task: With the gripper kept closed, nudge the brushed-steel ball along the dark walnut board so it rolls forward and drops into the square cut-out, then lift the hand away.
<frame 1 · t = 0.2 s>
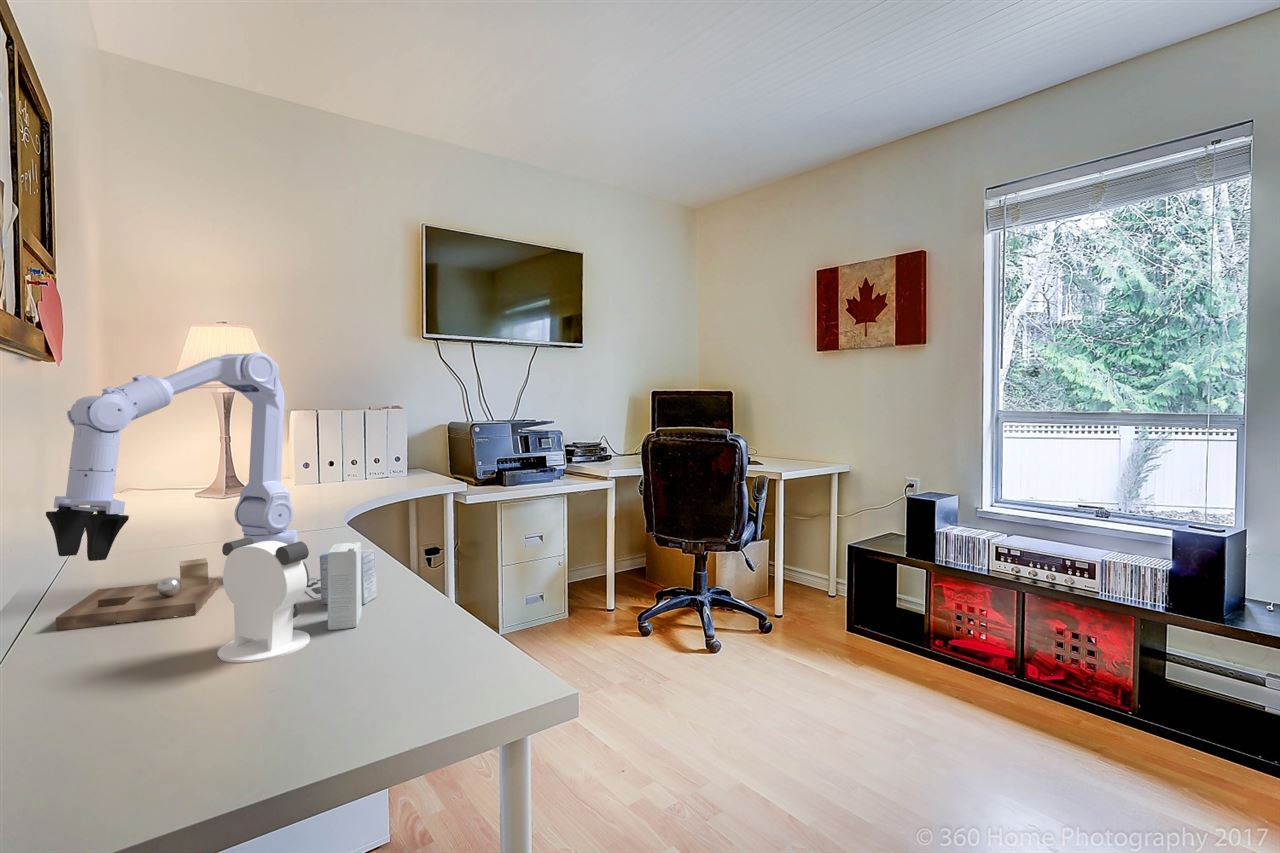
hand: (82, 557, 101), 11 cm above the table, tool pointing down, fingers open, 7 cm apart
panda figurine: (267, 647, 92), on the table
medicine box: (349, 602, 112), on the table
handheld gaming device: (329, 588, 122), on the table
board: (145, 607, 109), on the table
ball: (169, 586, 109), point 4 cm above the table, touching board
cork block: (194, 583, 116), point 2 cm above the table, touching board
skincare box: (346, 624, 101), on the table
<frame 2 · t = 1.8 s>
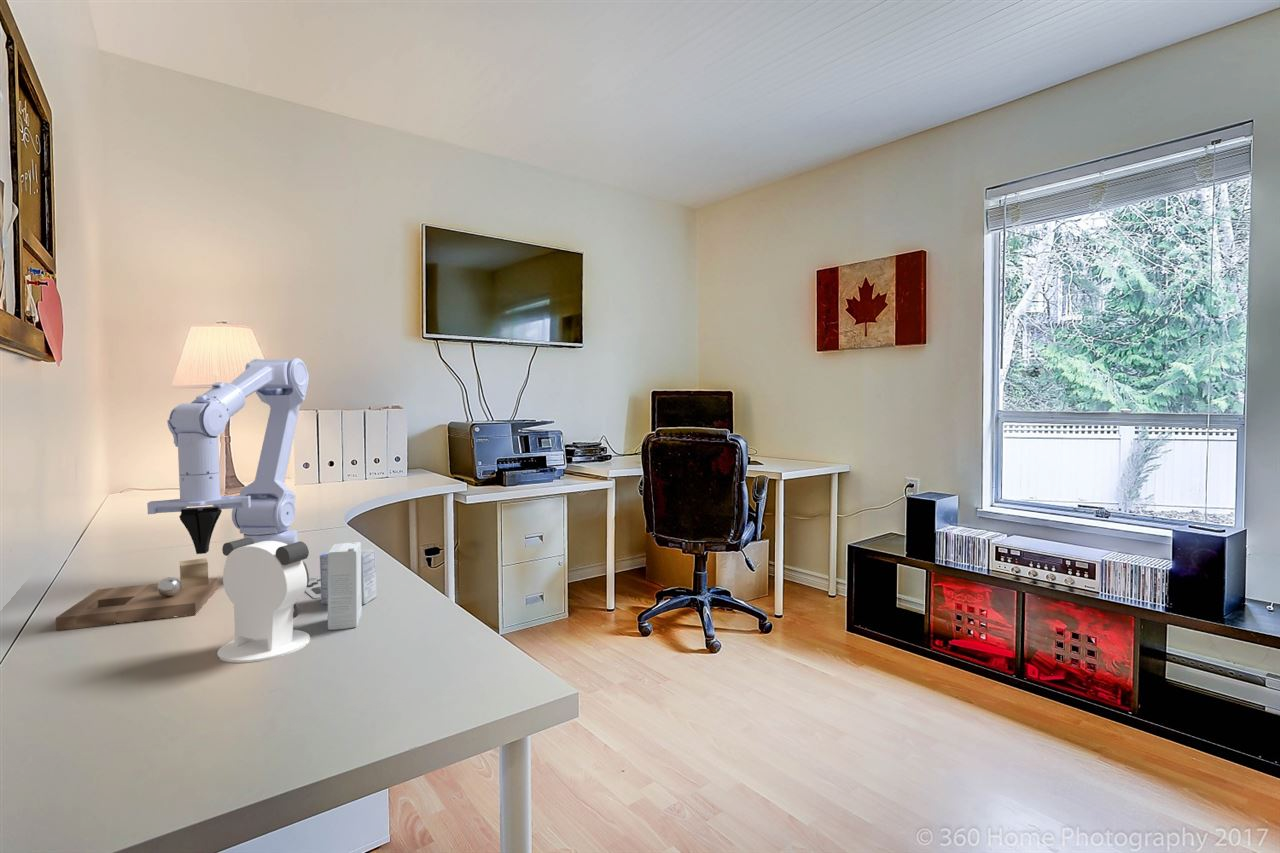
hand: (202, 552, 110), 9 cm above the table, tool pointing down, fingers closed
nothing on the table moved.
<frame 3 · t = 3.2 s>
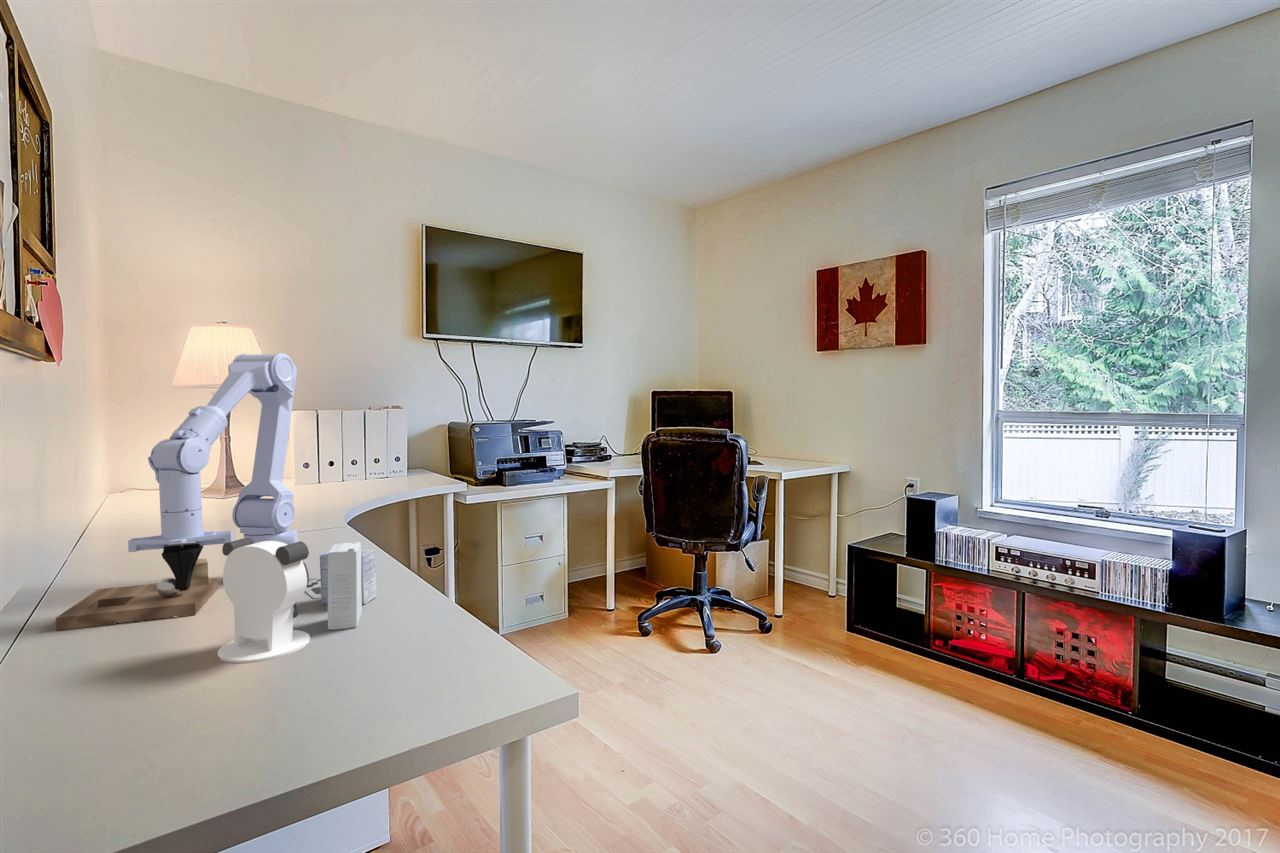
hand: (184, 589, 110), 3 cm above the table, tool pointing down, fingers closed, pressing on ball
ball: (168, 587, 109), point 4 cm above the table, touching board, gripper
everything else where it was.
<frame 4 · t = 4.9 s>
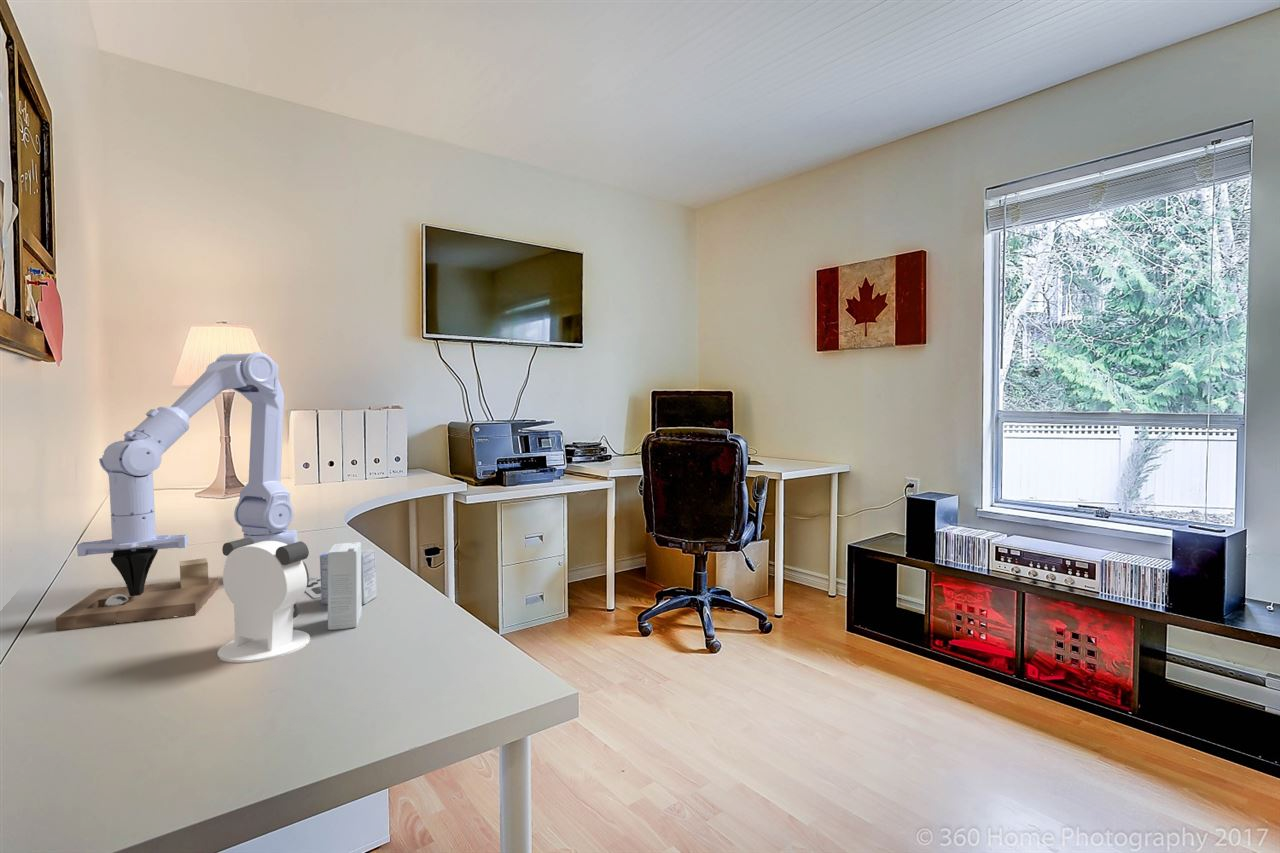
hand: (136, 594, 107), 3 cm above the table, tool pointing down, fingers closed
ball: (117, 604, 106), point 2 cm above the table, tilted 98°
everything else where it was.
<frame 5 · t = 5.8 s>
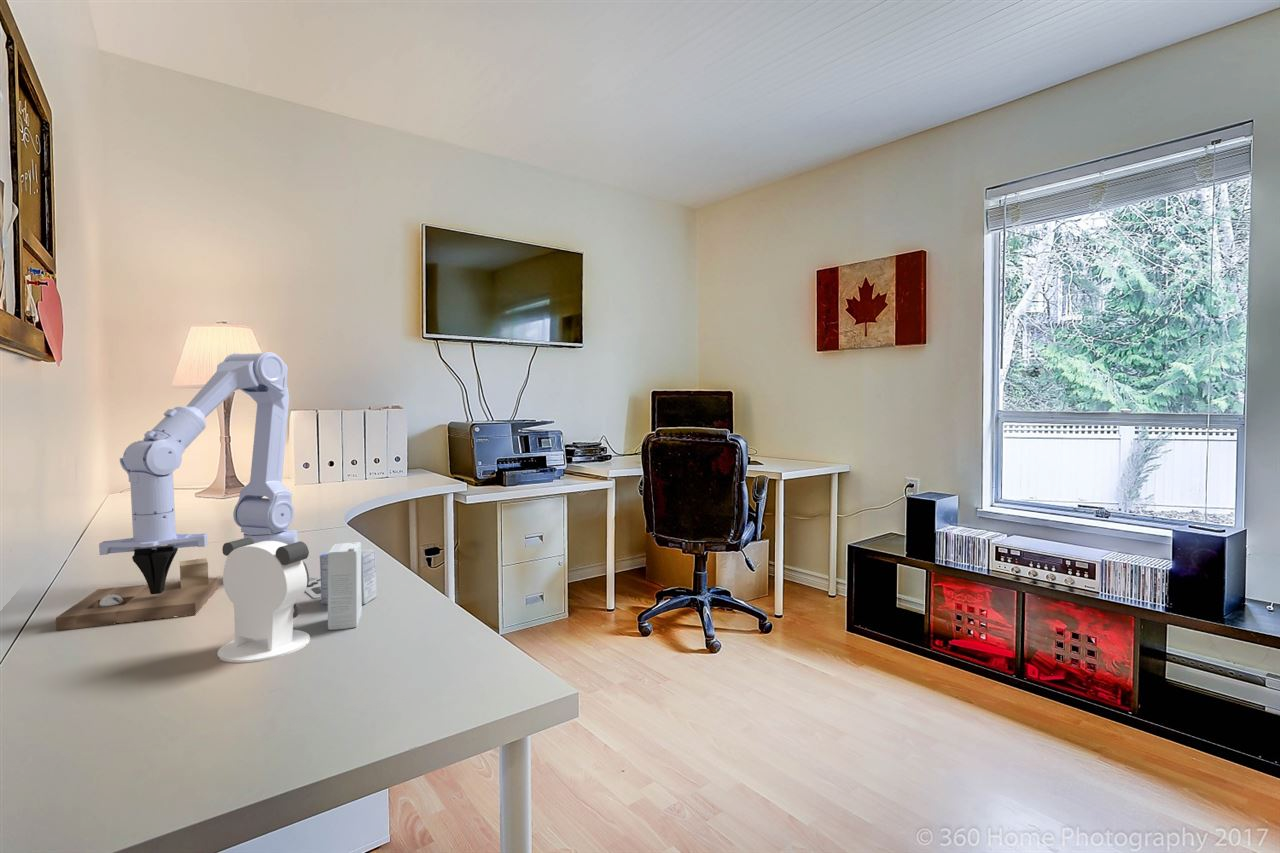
hand: (157, 592, 108), 3 cm above the table, tool pointing down, fingers closed
ball: (111, 604, 106), point 2 cm above the table, tilted 68°
everything else where it was.
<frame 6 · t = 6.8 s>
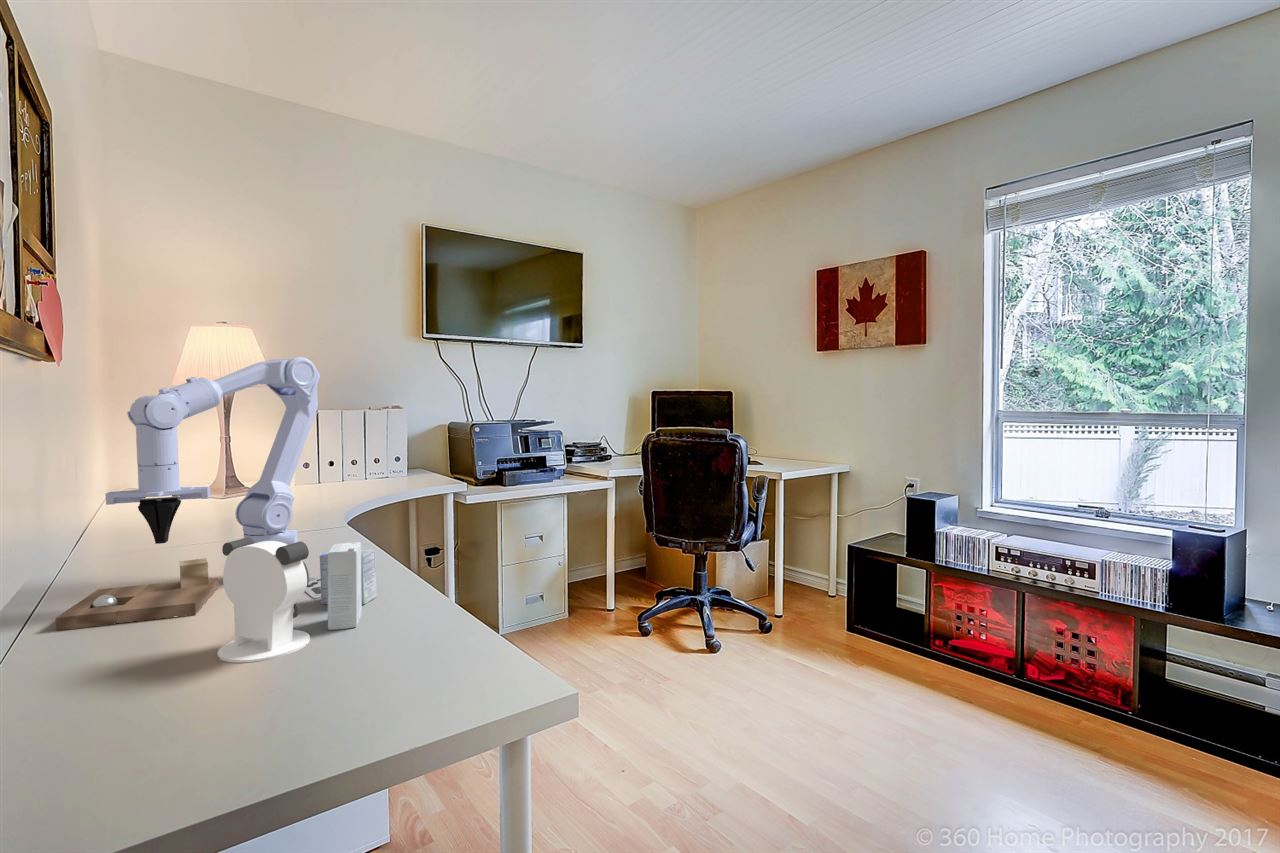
hand: (161, 542, 112), 10 cm above the table, tool pointing down, fingers closed
ball: (105, 605, 106), point 2 cm above the table, tilted 37°
everything else where it was.
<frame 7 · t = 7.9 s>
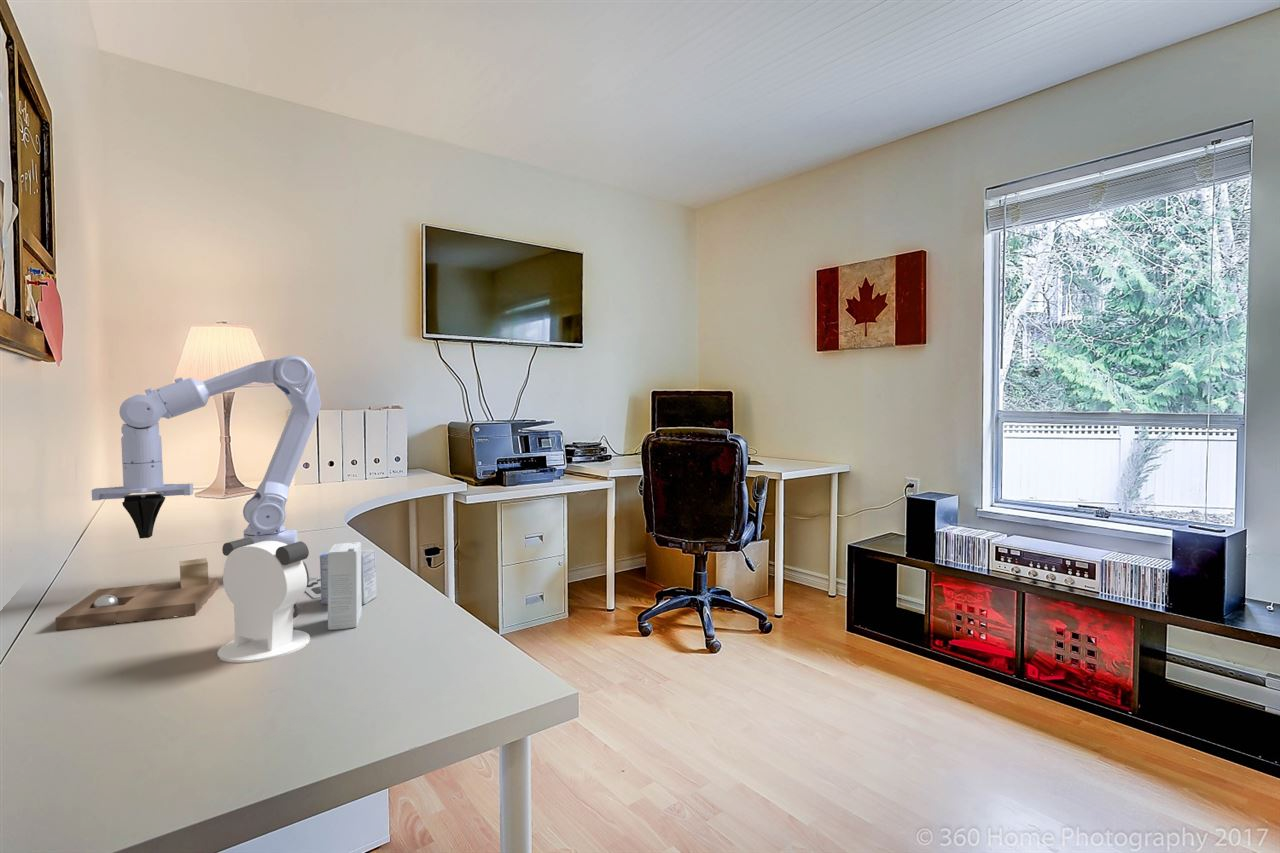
hand: (145, 537, 117), 10 cm above the table, tool pointing down, fingers closed
ball: (106, 604, 106), point 2 cm above the table, tilted 43°
everything else where it was.
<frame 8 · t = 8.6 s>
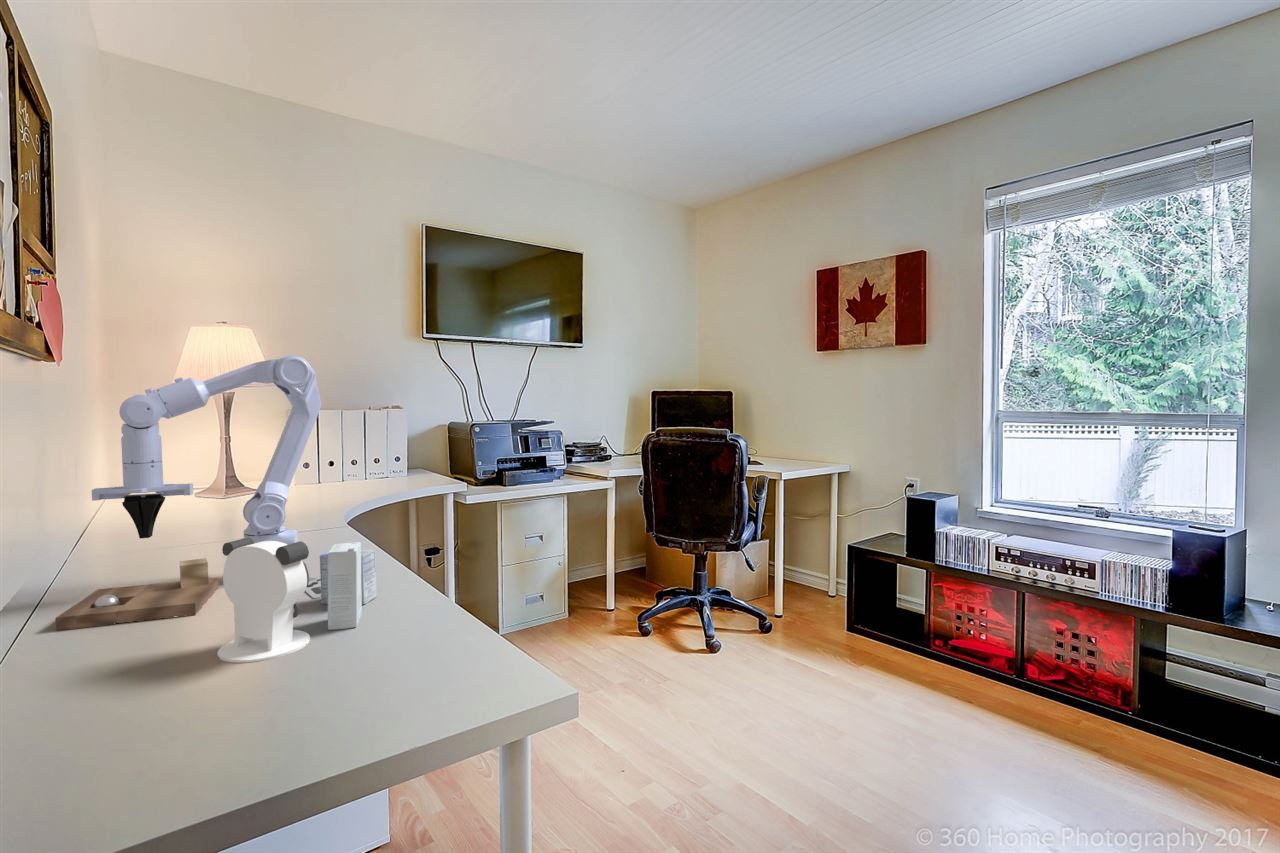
hand: (145, 537, 117), 10 cm above the table, tool pointing down, fingers closed
nothing on the table moved.
at the end: ball 0.7 cm from the target spot on the board, point 1.6 cm above the board's base; ball point 1.6 cm above the table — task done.
